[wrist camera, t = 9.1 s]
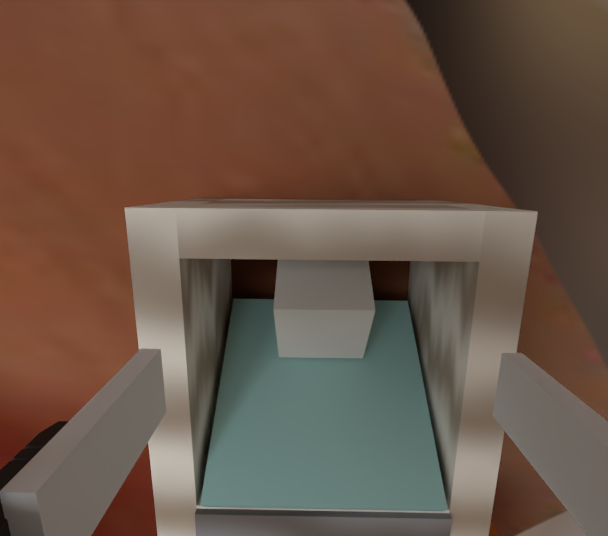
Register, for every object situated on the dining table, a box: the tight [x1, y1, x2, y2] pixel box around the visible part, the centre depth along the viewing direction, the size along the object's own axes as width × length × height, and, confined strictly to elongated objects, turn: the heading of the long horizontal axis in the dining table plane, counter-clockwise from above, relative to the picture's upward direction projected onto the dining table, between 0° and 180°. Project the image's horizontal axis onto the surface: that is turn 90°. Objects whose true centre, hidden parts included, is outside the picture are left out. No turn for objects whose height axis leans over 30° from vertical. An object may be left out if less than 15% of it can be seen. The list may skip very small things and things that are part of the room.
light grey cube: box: [273, 260, 375, 358], centre depth 26 cm, size 6×6×6 cm
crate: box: [125, 198, 538, 536], centre depth 25 cm, size 20×20×12 cm
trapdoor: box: [200, 299, 448, 511], centre depth 25 cm, size 14×14×1 cm
